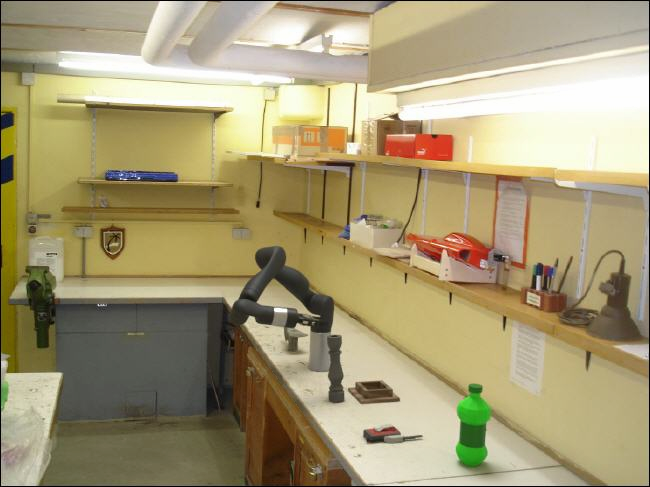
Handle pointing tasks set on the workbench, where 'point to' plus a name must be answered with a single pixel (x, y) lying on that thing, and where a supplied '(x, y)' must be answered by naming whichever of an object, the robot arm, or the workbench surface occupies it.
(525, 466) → the workbench surface
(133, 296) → the workbench surface
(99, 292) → the workbench surface
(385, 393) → the walnut socket base
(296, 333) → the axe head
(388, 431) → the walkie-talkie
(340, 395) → the candle holder
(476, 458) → the plastic bottle
